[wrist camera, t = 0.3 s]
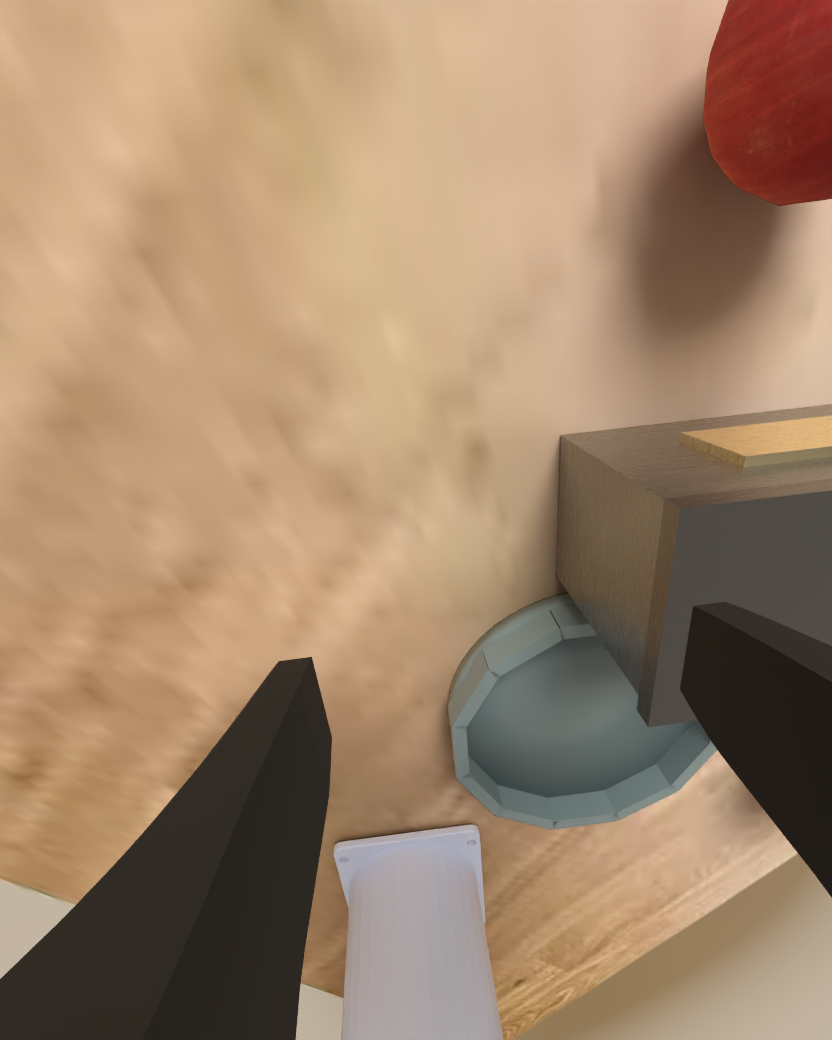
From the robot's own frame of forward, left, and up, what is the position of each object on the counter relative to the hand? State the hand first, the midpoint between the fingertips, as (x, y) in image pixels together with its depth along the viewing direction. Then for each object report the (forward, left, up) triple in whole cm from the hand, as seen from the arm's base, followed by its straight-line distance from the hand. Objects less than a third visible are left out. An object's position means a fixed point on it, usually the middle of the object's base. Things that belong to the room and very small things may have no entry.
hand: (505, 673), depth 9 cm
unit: (-1, -11, -10) cm, 14 cm away
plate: (-11, -6, -10) cm, 16 cm away
